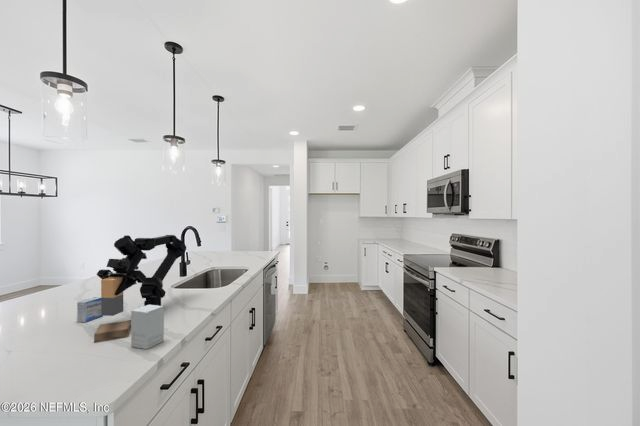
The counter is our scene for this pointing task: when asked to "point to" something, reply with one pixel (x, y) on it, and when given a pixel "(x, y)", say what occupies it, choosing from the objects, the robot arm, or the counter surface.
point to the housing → (111, 296)
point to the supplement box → (147, 326)
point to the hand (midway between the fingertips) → (109, 294)
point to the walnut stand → (112, 331)
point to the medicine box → (89, 309)
